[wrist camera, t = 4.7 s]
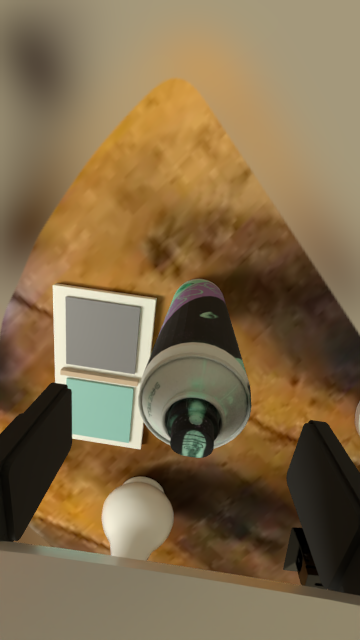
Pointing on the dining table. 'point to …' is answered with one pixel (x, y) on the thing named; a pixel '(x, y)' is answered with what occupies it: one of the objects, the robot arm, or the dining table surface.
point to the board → (103, 360)
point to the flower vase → (137, 518)
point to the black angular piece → (301, 559)
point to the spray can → (195, 375)
